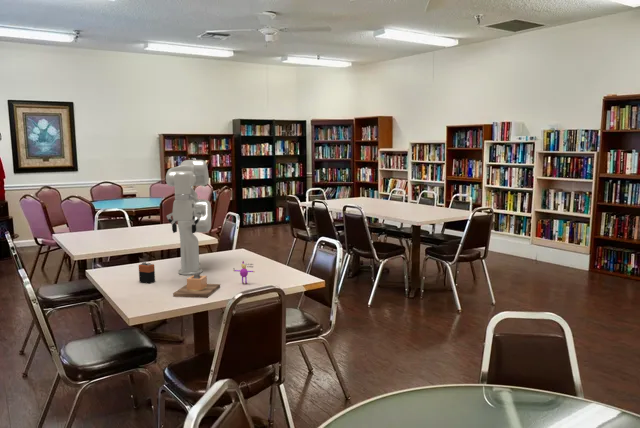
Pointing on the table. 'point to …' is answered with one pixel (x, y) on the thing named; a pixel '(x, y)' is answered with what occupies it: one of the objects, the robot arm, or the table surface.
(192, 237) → the robot arm
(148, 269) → the battery
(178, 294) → the post base
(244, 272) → the wizard figurine
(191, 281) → the tan square box
